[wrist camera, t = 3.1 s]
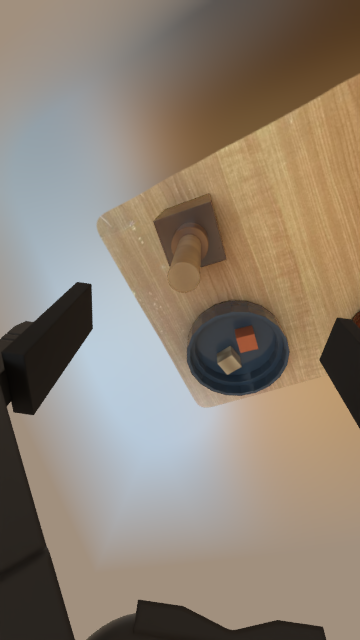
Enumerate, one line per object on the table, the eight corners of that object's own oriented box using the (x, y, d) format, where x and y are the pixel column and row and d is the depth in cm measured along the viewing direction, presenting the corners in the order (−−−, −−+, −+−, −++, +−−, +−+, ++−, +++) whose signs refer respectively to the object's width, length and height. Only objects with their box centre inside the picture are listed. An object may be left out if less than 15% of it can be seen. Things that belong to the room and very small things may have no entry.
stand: (179, 253, 53) (172, 275, 43) (164, 209, 50) (153, 221, 39) (222, 240, 52) (226, 259, 41) (209, 193, 48) (210, 201, 38)
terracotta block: (238, 343, 61) (240, 353, 57) (234, 329, 59) (236, 338, 56) (255, 339, 60) (258, 349, 57) (251, 325, 58) (254, 333, 55)
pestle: (179, 262, 42) (168, 307, 29) (168, 229, 40) (150, 261, 27) (212, 252, 41) (215, 294, 28) (202, 217, 39) (201, 245, 26)
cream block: (226, 364, 63) (227, 374, 60) (216, 353, 62) (217, 363, 59) (240, 356, 62) (241, 366, 59) (230, 345, 61) (231, 355, 58)
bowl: (203, 386, 67) (203, 403, 62) (175, 314, 59) (173, 327, 54) (289, 367, 63) (296, 384, 58) (272, 287, 55) (278, 299, 50)
